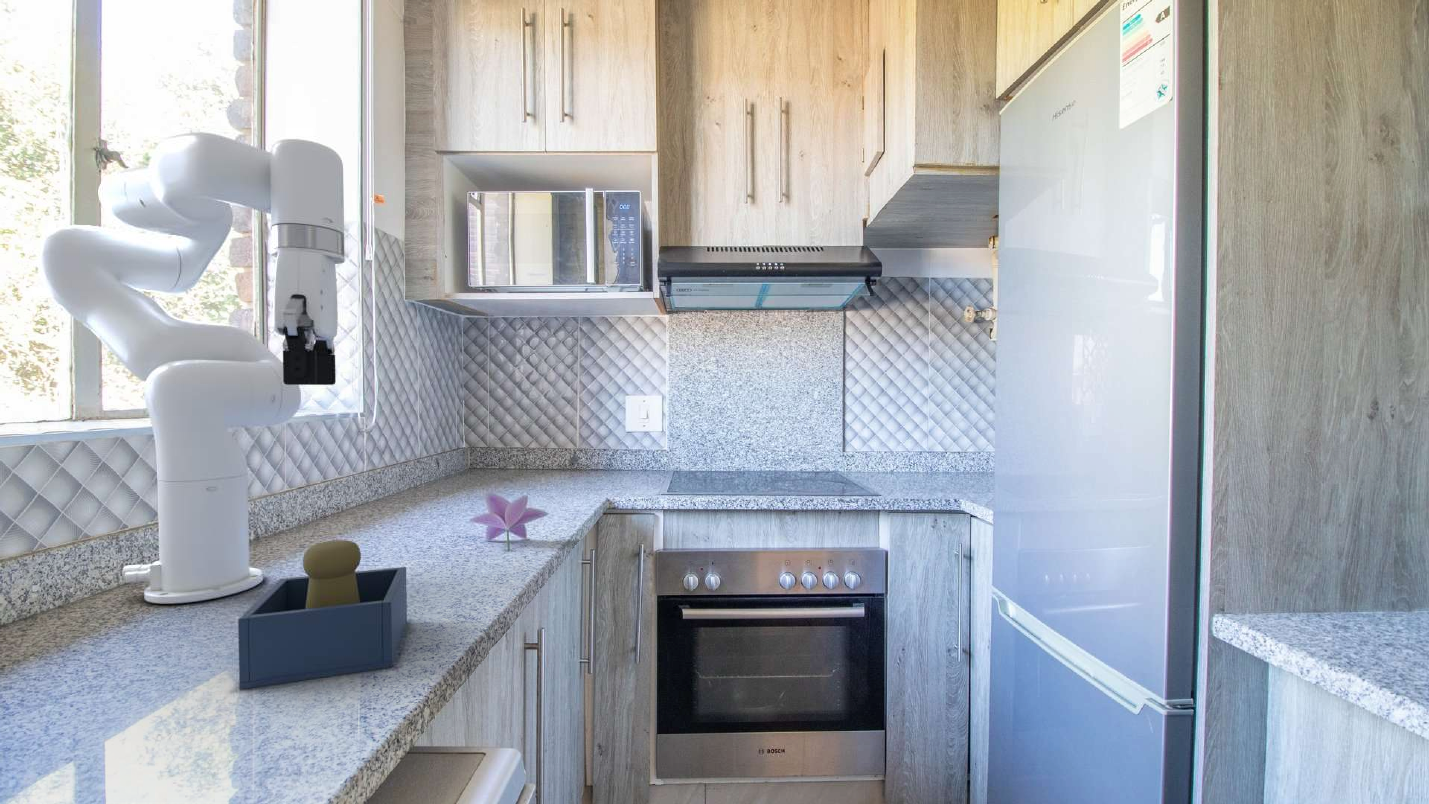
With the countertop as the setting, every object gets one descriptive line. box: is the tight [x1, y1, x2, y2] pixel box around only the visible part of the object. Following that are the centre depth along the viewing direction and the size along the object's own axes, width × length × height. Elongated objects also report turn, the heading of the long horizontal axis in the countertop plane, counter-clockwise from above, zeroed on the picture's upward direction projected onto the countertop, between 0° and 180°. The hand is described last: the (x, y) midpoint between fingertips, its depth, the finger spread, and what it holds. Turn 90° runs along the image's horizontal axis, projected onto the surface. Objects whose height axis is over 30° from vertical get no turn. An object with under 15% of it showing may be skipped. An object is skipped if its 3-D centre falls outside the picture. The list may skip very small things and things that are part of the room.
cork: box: [302, 539, 362, 609], centre depth 64 cm, size 6×6×11 cm
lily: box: [469, 491, 549, 551], centre depth 107 cm, size 12×12×10 cm
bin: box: [237, 566, 408, 690], centre depth 64 cm, size 13×13×7 cm
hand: (311, 384), depth 76 cm, fingers open, 9 cm apart
